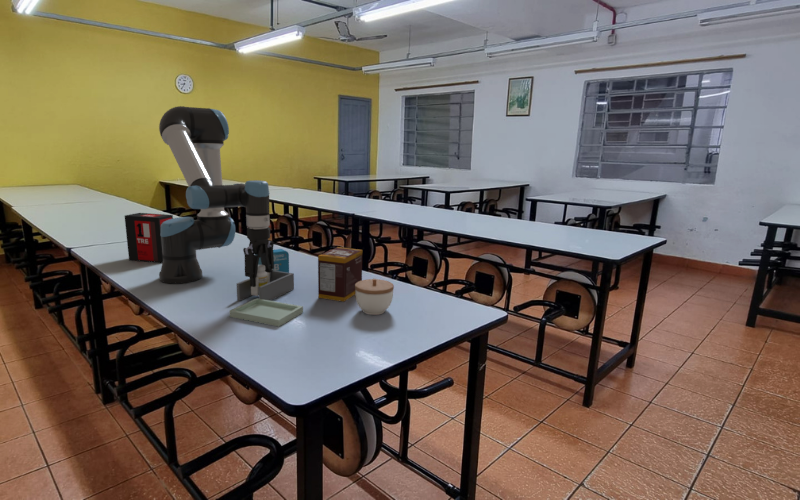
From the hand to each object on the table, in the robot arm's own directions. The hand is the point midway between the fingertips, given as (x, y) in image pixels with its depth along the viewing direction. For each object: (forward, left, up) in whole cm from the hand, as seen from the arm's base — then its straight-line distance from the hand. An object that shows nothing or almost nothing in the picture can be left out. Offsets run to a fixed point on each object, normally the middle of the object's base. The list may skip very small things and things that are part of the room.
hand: (260, 292), depth 157 cm
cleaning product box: (-74, +21, -2) cm, 77 cm away
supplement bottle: (0, 0, -1) cm, 1 cm away
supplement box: (+23, +16, -2) cm, 28 cm away
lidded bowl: (+41, +5, -2) cm, 41 cm away
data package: (-8, +18, -2) cm, 20 cm away
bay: (0, +4, -2) cm, 4 cm away
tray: (+12, -13, -2) cm, 18 cm away
